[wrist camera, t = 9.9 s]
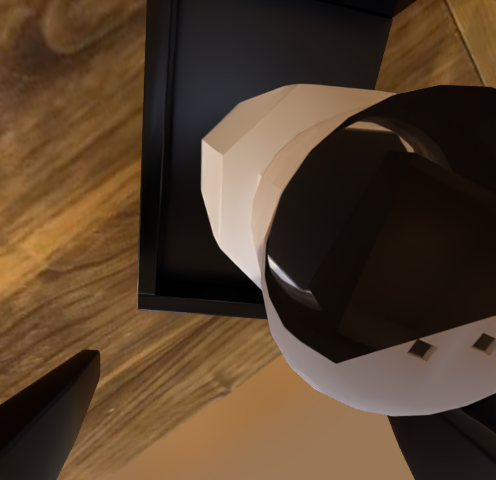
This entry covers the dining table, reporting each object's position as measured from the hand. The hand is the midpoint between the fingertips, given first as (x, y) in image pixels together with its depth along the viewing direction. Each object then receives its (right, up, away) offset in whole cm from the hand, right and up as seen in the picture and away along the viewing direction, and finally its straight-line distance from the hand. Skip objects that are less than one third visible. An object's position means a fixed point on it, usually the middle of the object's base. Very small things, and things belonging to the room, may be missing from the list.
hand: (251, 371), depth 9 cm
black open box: (0, +9, +9) cm, 13 cm away
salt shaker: (0, +7, +4) cm, 8 cm away
